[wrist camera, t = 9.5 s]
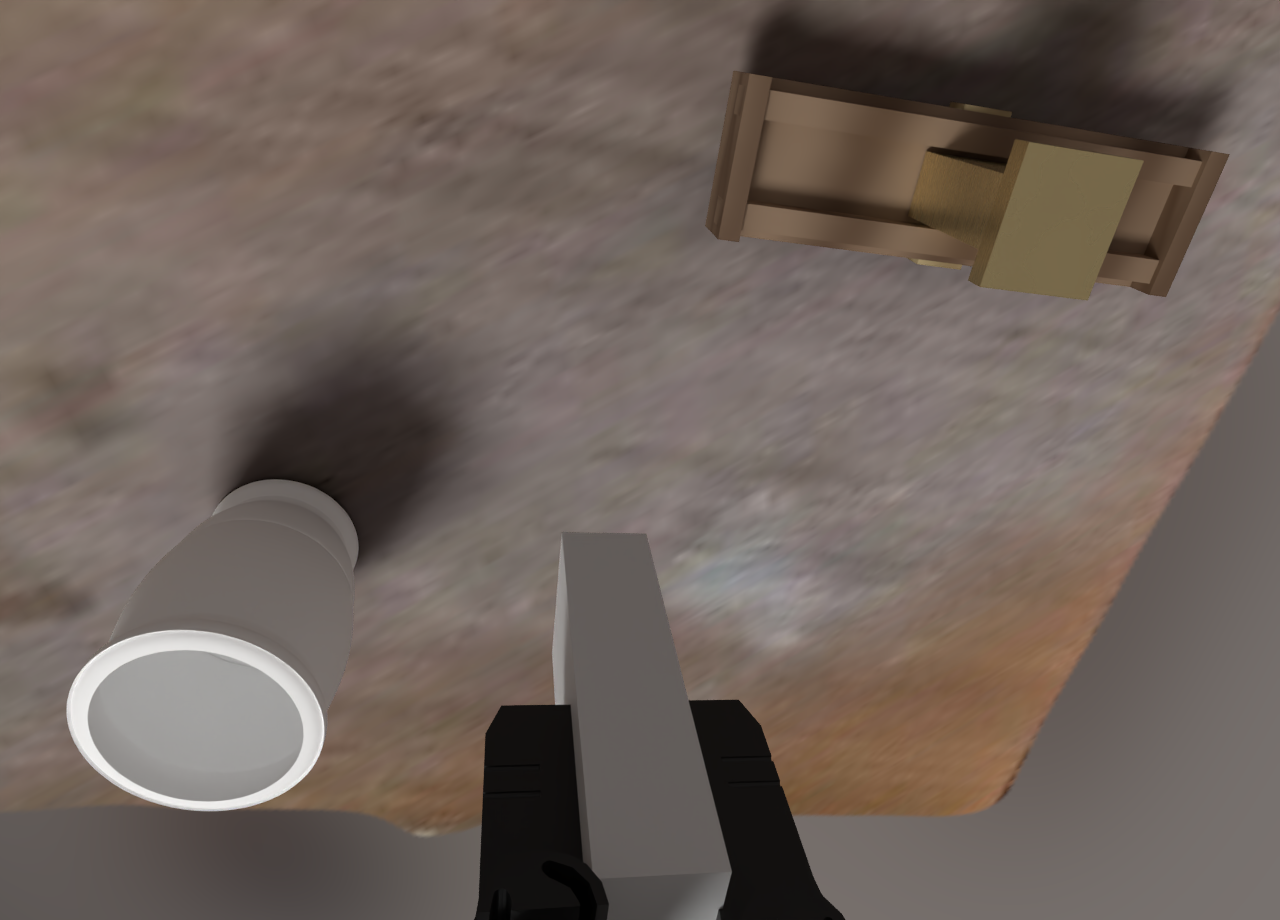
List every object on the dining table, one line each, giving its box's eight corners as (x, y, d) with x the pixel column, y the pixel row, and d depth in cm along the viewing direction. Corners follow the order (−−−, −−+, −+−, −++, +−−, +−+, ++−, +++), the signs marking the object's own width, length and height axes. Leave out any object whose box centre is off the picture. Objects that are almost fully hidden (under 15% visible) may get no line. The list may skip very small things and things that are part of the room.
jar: (177, 457, 45) (36, 633, 32) (372, 462, 47) (314, 631, 33) (206, 612, 50) (92, 820, 37) (381, 611, 51) (333, 810, 38)
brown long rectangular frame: (694, 220, 43) (717, 244, 38) (722, 63, 39) (751, 67, 34) (1097, 273, 47) (1163, 301, 42) (1153, 136, 44) (1232, 149, 39)
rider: (899, 242, 40) (979, 286, 33) (934, 121, 38) (1029, 141, 31) (990, 254, 41) (1087, 300, 34) (1031, 137, 39) (1144, 160, 32)
